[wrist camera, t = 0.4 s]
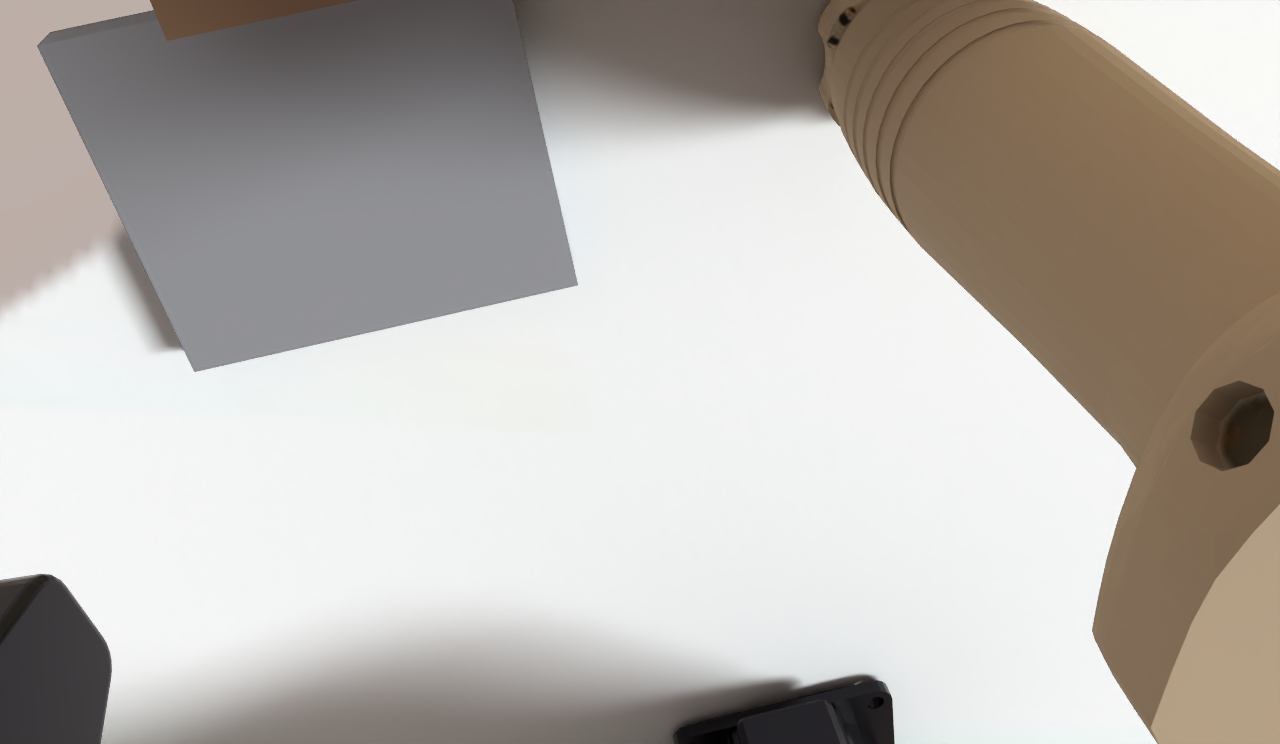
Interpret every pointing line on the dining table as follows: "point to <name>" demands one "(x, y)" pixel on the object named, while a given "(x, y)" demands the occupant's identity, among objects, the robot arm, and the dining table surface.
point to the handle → (1106, 308)
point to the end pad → (320, 168)
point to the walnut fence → (225, 13)
